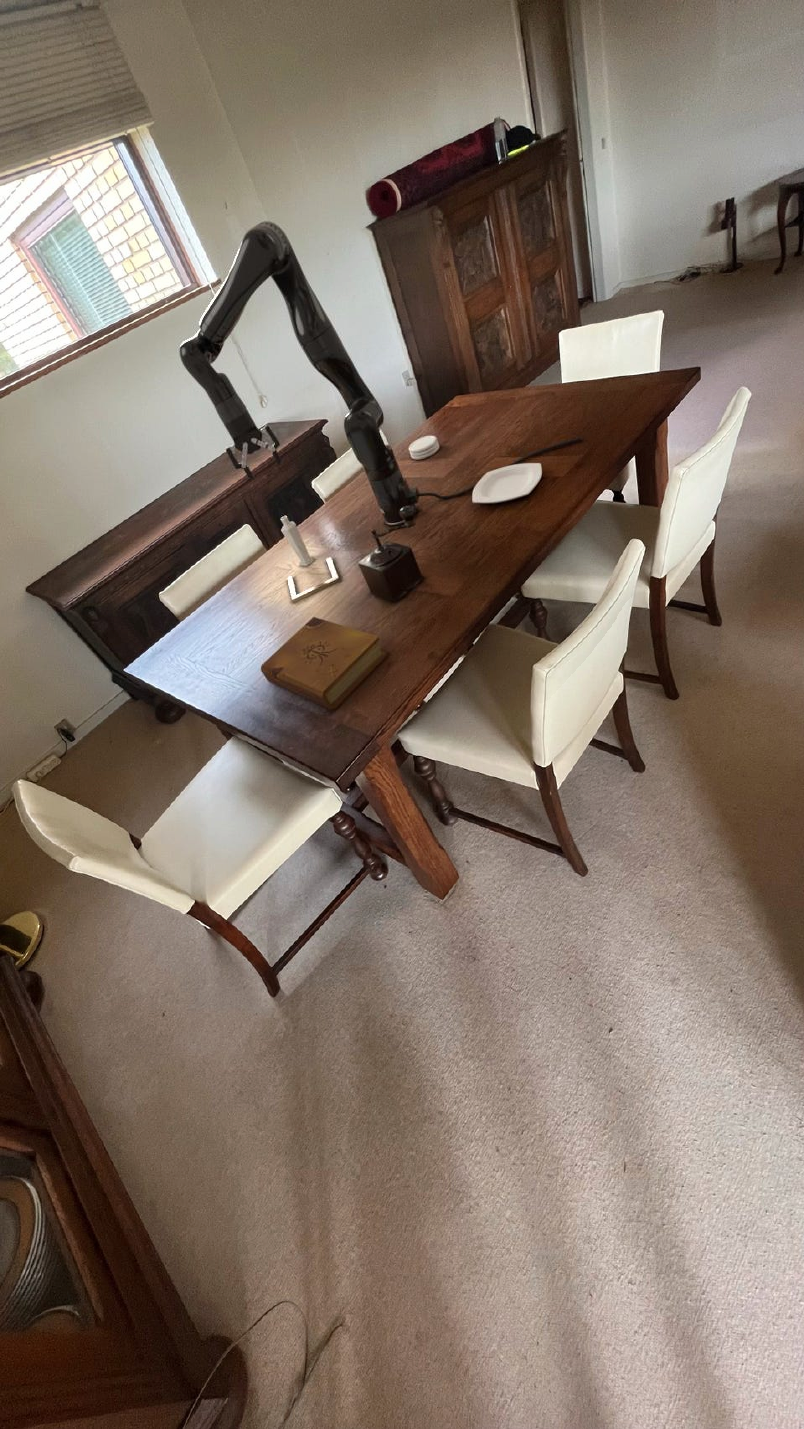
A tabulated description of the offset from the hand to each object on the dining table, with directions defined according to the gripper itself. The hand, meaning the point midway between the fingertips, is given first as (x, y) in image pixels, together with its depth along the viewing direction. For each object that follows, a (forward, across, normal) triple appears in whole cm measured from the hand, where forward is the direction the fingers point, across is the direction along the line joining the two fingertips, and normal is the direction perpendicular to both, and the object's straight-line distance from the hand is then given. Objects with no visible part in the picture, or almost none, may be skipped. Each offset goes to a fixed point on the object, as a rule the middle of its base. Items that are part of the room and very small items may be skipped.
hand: (266, 471), depth 178 cm
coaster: (+24, +48, +26) cm, 60 cm away
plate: (+31, +57, -22) cm, 69 cm away
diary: (+33, -6, -64) cm, 72 cm away
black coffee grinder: (+32, +20, -43) cm, 57 cm away
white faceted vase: (+26, -2, -9) cm, 28 cm away
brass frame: (+27, -2, -21) cm, 34 cm away
